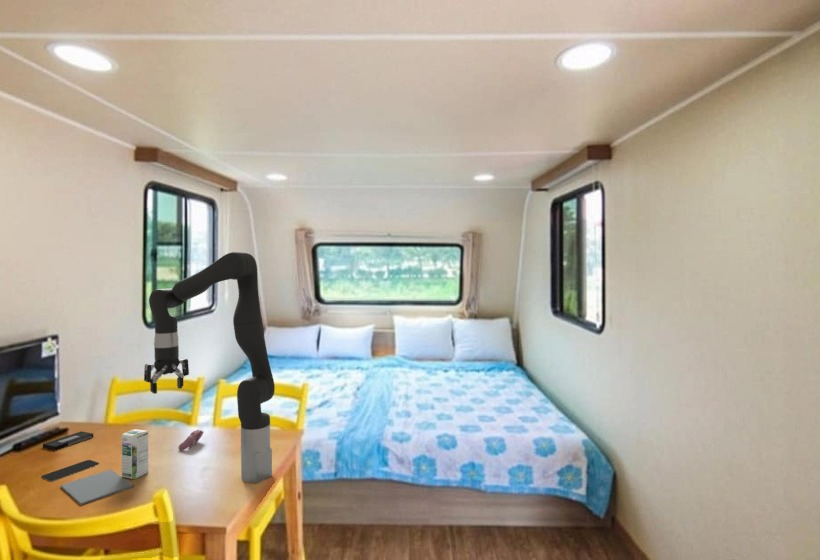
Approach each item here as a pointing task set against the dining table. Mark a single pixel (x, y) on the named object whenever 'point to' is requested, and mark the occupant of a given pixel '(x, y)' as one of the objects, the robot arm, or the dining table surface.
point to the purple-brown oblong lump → (191, 440)
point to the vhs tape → (67, 440)
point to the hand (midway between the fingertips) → (167, 390)
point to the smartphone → (69, 470)
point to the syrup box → (134, 453)
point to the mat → (96, 486)
